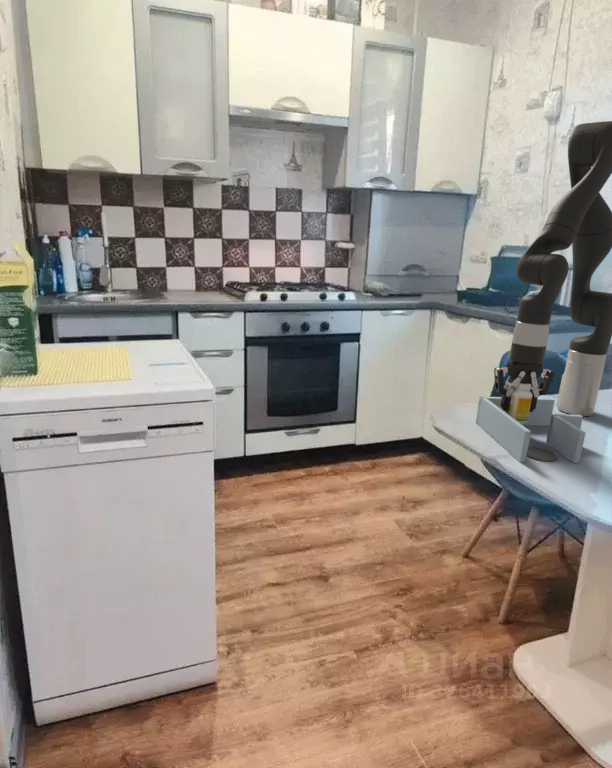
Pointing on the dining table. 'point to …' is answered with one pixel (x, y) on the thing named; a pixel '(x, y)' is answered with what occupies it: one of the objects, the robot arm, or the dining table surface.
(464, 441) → the dining table surface
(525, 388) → the supplement bottle
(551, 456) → the pad
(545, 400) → the channel
